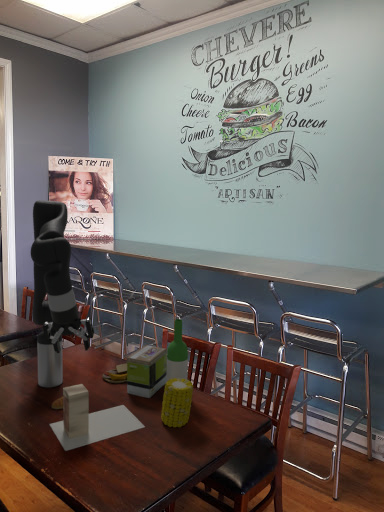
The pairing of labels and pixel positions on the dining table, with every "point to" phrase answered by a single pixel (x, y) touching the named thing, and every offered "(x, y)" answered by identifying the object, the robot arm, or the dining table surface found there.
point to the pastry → (58, 403)
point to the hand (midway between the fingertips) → (73, 350)
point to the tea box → (146, 371)
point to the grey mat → (100, 427)
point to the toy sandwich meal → (117, 374)
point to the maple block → (76, 410)
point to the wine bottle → (177, 355)
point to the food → (176, 402)
